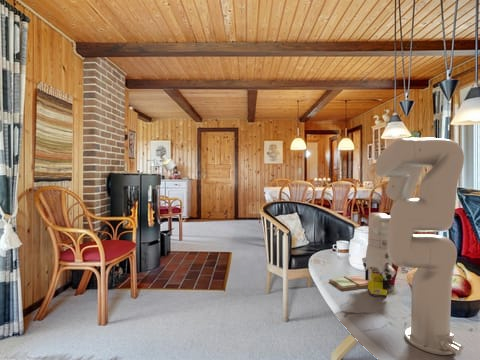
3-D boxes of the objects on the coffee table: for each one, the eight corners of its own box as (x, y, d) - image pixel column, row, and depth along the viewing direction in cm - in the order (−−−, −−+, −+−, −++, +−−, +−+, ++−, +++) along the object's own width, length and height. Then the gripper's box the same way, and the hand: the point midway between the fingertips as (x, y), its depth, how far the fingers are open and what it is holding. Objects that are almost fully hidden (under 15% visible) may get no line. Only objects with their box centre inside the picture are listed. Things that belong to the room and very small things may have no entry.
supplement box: (387, 297, 113) (387, 270, 113) (371, 296, 114) (371, 269, 114) (382, 291, 119) (383, 265, 119) (367, 290, 120) (368, 264, 120)
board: (374, 286, 124) (374, 282, 124) (342, 290, 119) (343, 286, 119) (358, 278, 133) (359, 274, 133) (329, 281, 129) (329, 277, 129)
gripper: (402, 247, 109) (401, 292, 109) (370, 237, 126) (369, 276, 126) (387, 249, 107) (385, 294, 107) (356, 238, 123) (355, 277, 124)
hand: (377, 284), depth 117 cm, fingers open, 9 cm apart
